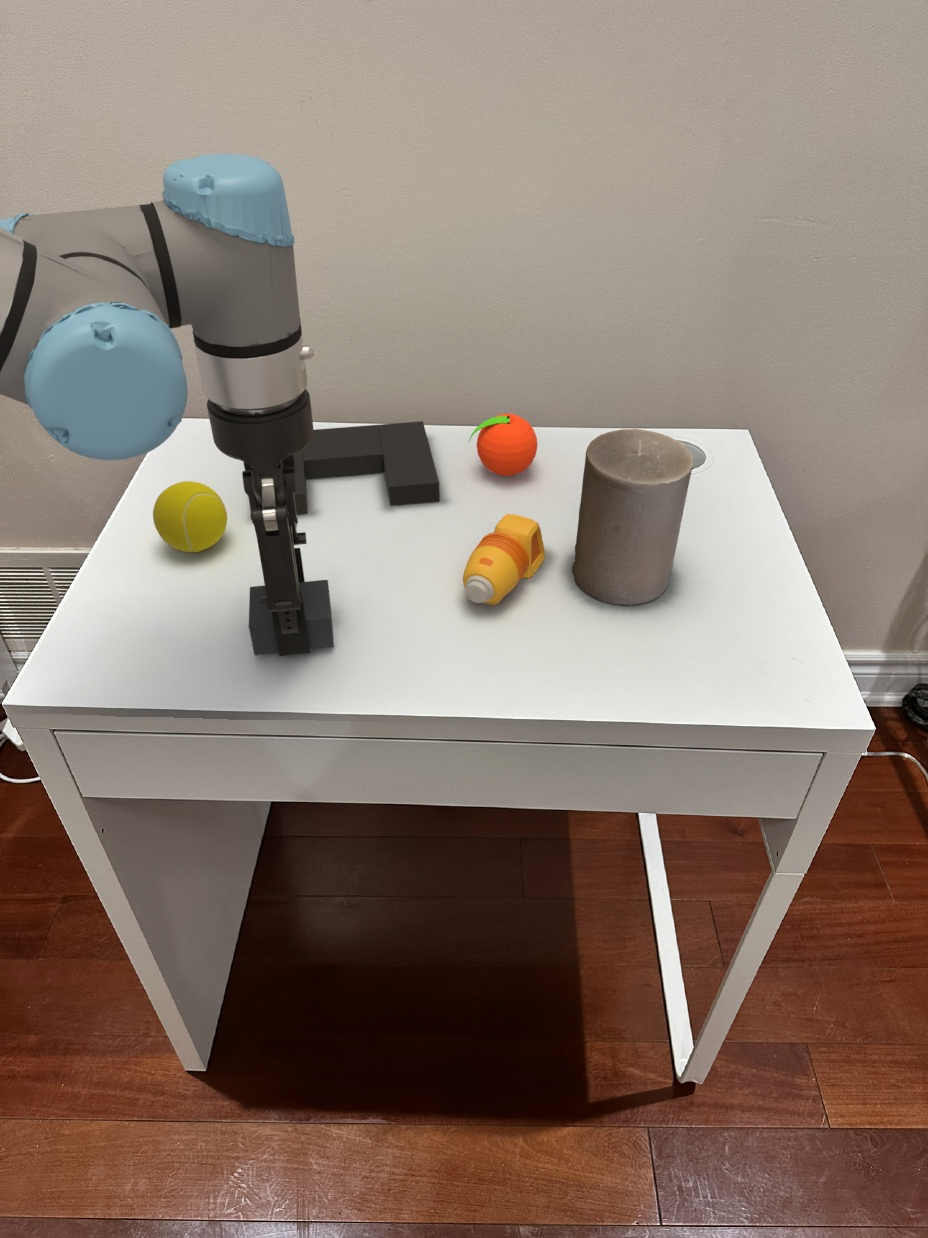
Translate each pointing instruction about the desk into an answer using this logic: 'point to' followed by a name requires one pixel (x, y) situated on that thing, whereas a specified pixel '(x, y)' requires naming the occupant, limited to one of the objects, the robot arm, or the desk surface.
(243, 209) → the robot arm
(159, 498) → the tennis ball
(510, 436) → the clementine
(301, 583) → the dark grey rectangular block
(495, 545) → the yellow toy drill
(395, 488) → the black u-shaped block
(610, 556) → the pillar candle
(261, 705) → the desk surface
